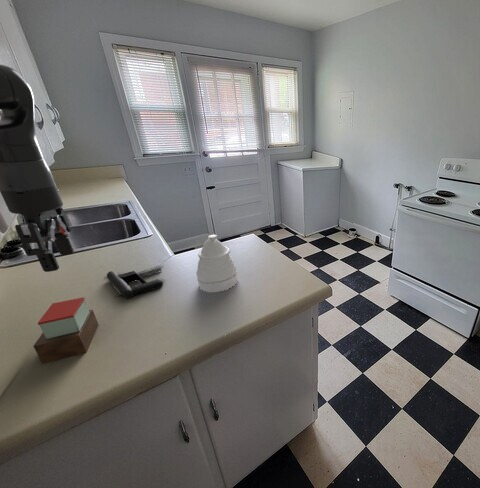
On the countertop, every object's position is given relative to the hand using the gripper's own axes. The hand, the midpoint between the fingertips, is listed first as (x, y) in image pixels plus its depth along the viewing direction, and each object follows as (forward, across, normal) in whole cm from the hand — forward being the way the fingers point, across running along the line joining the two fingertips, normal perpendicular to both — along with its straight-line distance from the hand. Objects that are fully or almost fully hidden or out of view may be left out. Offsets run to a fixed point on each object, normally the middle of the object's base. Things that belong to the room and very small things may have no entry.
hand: (60, 261), depth 57 cm
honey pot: (+23, -19, +30) cm, 43 cm away
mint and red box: (+18, -4, -5) cm, 19 cm away
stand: (+23, -4, -6) cm, 24 cm away
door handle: (+24, -31, +6) cm, 39 cm away
